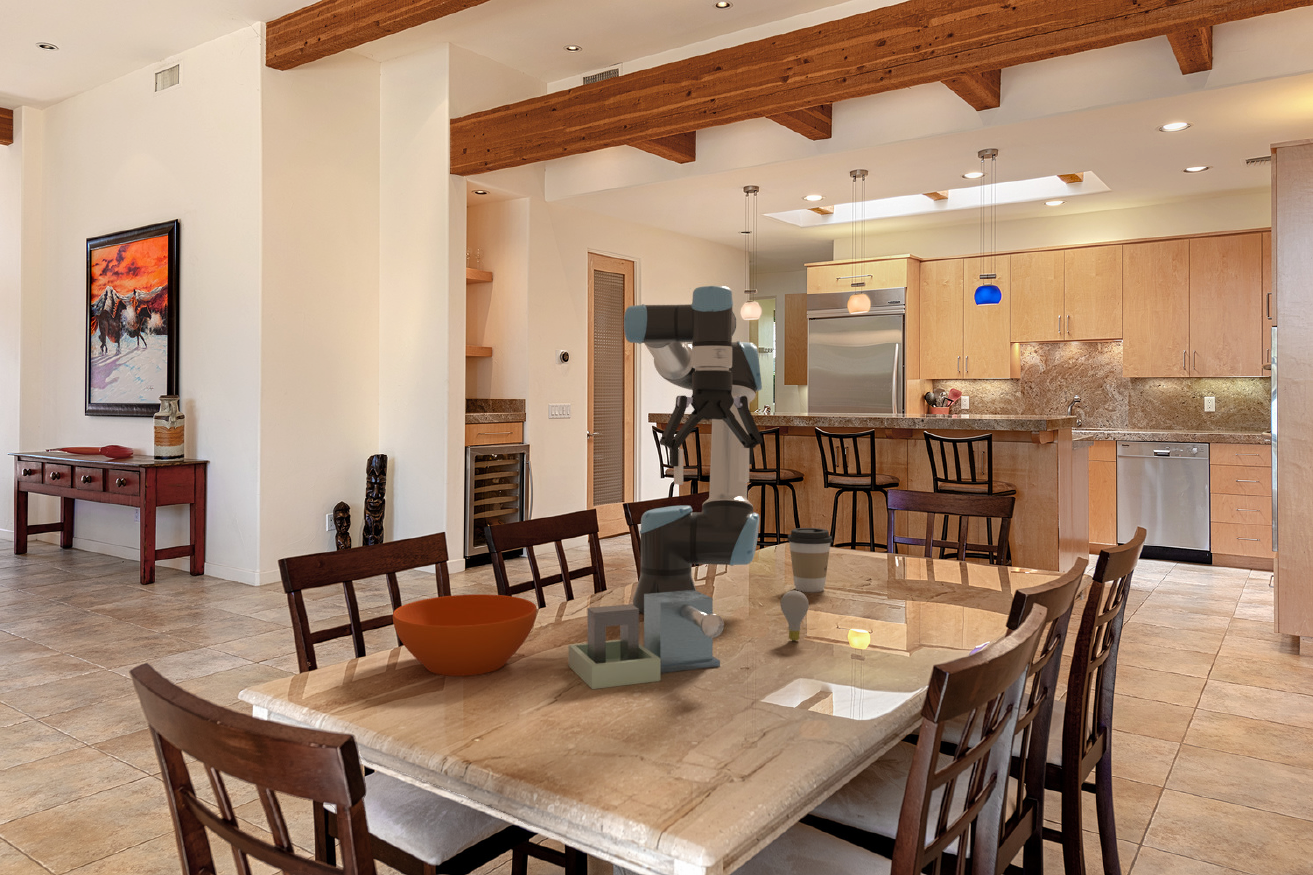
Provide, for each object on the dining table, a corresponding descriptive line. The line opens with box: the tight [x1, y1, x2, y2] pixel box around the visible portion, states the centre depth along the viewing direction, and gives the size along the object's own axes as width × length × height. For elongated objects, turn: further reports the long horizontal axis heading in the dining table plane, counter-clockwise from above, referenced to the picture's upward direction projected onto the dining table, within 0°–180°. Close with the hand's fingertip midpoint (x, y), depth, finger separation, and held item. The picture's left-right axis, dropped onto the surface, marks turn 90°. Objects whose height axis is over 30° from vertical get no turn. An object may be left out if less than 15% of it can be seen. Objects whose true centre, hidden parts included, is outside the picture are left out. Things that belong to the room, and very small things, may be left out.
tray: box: [568, 639, 661, 690], centre depth 154 cm, size 14×12×4 cm
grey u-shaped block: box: [586, 603, 640, 664], centre depth 154 cm, size 4×8×10 cm, turn 112°
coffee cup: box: [787, 527, 834, 593], centre depth 225 cm, size 11×11×15 cm
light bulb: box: [780, 589, 810, 642], centre depth 175 cm, size 6×6×10 cm
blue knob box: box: [643, 589, 725, 674], centre depth 156 cm, size 20×12×12 cm, turn 22°
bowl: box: [392, 593, 538, 677], centre depth 159 cm, size 25×25×10 cm
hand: (711, 483), depth 168 cm, fingers open, 13 cm apart
